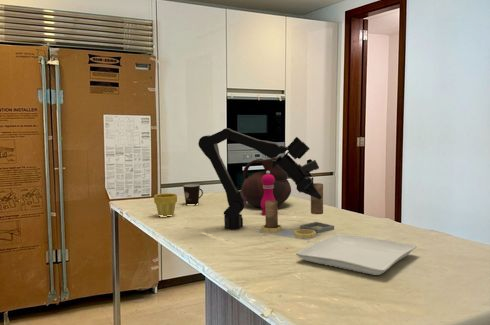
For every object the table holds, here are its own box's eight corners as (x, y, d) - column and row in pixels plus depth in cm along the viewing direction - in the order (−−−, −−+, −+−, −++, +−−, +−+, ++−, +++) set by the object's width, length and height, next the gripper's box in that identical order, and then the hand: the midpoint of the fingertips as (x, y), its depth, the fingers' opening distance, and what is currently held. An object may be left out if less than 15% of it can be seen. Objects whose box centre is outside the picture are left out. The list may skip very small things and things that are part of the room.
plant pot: (180, 216, 195) (179, 195, 194) (158, 219, 191) (157, 197, 190) (174, 212, 205) (173, 192, 204) (152, 215, 200) (151, 194, 199)
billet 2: (317, 214, 159) (317, 185, 158) (308, 212, 163) (308, 184, 162) (325, 213, 162) (325, 184, 161) (316, 211, 166) (316, 182, 165)
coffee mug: (181, 203, 227) (181, 185, 226) (197, 202, 231) (196, 183, 230) (188, 207, 217) (187, 188, 216) (204, 205, 220) (204, 186, 219)
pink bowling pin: (258, 215, 196) (257, 171, 194) (264, 212, 202) (264, 169, 200) (272, 216, 192) (272, 171, 190) (279, 213, 199) (278, 170, 197)
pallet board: (256, 234, 162) (256, 227, 161) (270, 229, 169) (270, 222, 168) (307, 243, 148) (307, 236, 148) (320, 237, 155) (320, 230, 155)
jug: (256, 199, 234) (255, 154, 232) (299, 203, 221) (298, 155, 219) (231, 208, 213) (230, 157, 211) (277, 212, 200) (276, 159, 198)
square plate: (337, 242, 150) (337, 231, 150) (417, 256, 133) (417, 244, 132) (294, 263, 129) (294, 250, 129) (383, 283, 112) (383, 268, 111)
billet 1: (271, 232, 159) (270, 203, 158) (263, 230, 163) (262, 201, 162) (280, 230, 162) (280, 201, 161) (272, 228, 166) (271, 199, 165)
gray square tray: (317, 236, 157) (317, 229, 157) (300, 231, 164) (300, 225, 164) (334, 232, 162) (334, 225, 162) (316, 227, 170) (316, 221, 169)
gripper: (305, 154, 152) (337, 185, 151) (306, 151, 170) (334, 178, 170) (283, 176, 154) (314, 207, 153) (286, 170, 172) (314, 198, 171)
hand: (320, 197), depth 162 cm, fingers closed on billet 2, 5 cm apart
